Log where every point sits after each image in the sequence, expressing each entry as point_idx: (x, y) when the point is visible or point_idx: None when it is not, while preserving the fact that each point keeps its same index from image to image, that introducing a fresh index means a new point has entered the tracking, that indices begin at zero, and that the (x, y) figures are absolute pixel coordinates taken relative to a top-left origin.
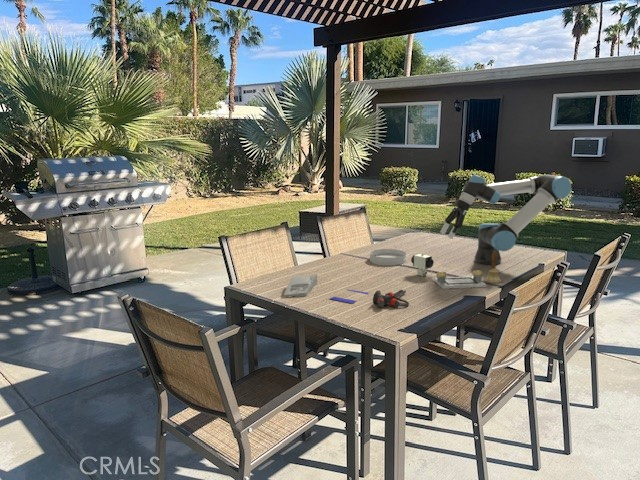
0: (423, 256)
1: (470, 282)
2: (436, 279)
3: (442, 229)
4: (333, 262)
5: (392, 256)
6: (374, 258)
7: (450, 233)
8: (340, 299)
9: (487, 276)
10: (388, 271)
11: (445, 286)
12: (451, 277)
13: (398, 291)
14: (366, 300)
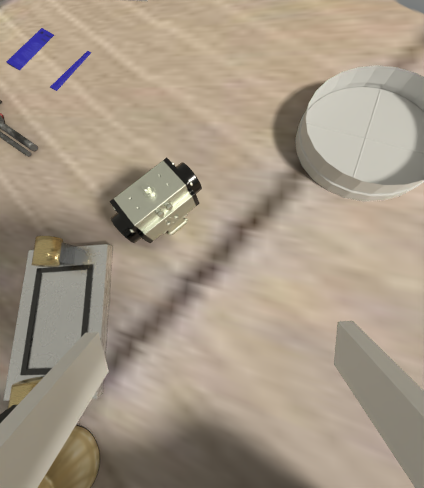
0: (136, 193)
1: (34, 350)
2: (90, 247)
3: (367, 361)
4: (327, 10)
5: (404, 155)
6: (326, 87)
7: (54, 371)
8: (33, 44)
9: (63, 448)
10: (223, 136)
11: (29, 259)
12: (99, 302)
13: (15, 135)
14: (16, 85)
